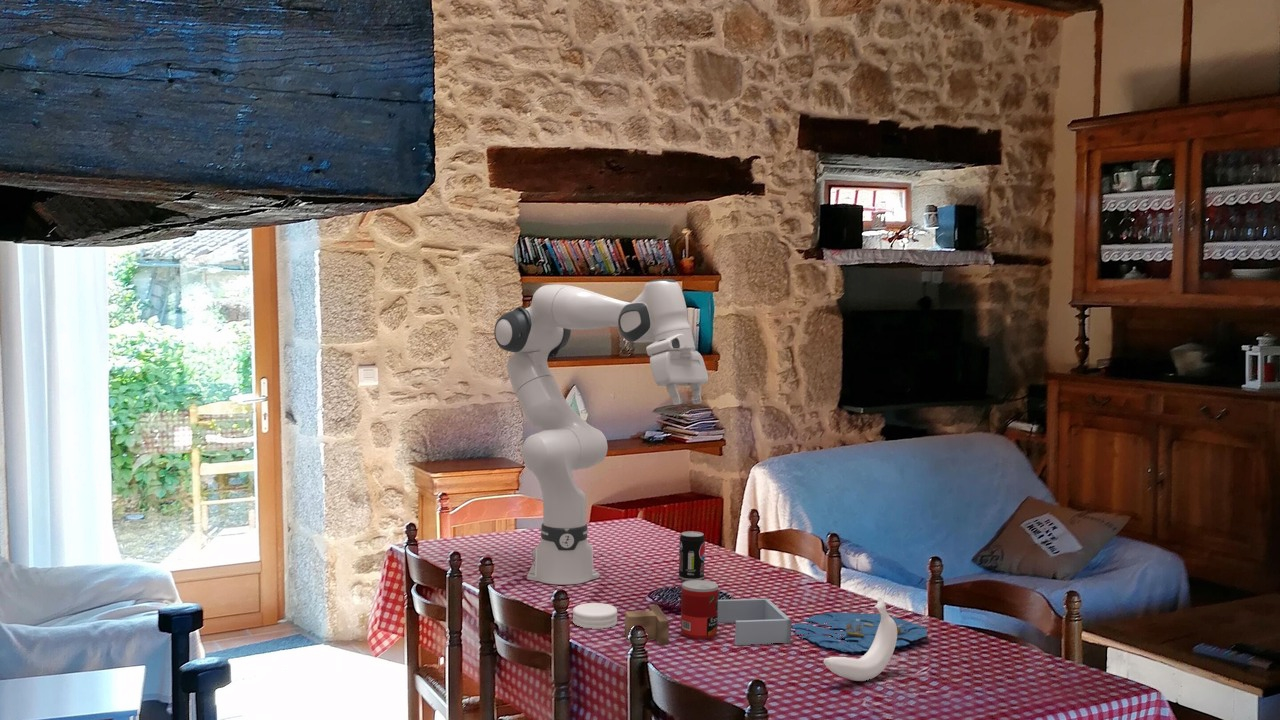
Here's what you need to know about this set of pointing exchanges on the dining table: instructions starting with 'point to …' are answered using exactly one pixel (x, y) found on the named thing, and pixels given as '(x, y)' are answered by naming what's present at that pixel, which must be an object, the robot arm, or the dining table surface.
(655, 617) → the t-shaped block
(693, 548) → the beverage can
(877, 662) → the banana
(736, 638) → the box
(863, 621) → the decorative plate
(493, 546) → the dining table surface
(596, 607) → the white round container
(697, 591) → the canned food
